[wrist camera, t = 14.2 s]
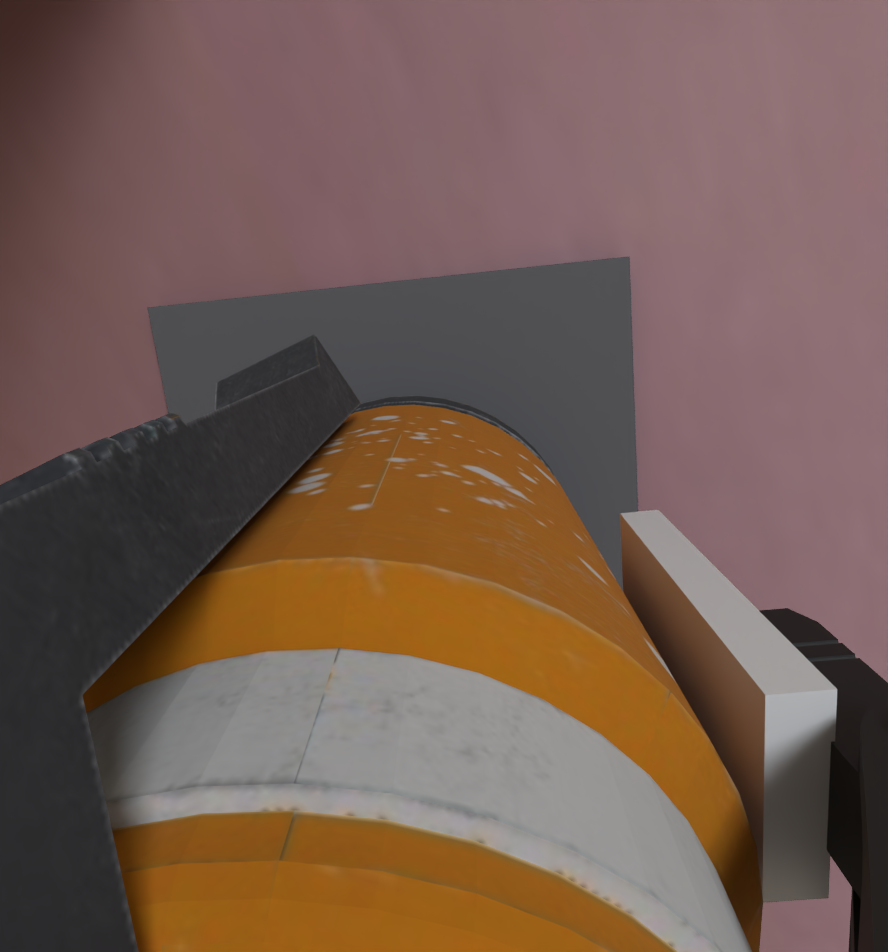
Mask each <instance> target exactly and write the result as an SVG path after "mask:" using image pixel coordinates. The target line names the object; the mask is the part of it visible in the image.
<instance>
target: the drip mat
mask: <svg viewBox="0 0 888 952" xmlns="http://www.w3.org/2000/svg"><path fill="white" fill-rule="evenodd" d="M148 313H149V318H150V323H151V328H152V333H153V338H154V343H155V348H156V353H157V358H158V363H159V368H160V373H161V378H162V383H163V388H164V393H165V398H166V403H167V408H168V413H169V414H170V413H174V414H177V415H180V416H181V417H182V419H183V421H184V423H188V422H190V421H192V420H194V419H197V418H199V417H201V416H204V415H206V414H208V413H210V412H213V411H215V393H216V383H217V382H219V381H221V380H223V379H225V378H227V377H229V376H231V375H233V374H235V373H237V372H239V371H241V370H243V369H245V368H247V367H249V366H251V365H253V364H255V363H257V362H259V361H261V360H263V359H265V358H267V357H269V356H271V355H273V354H275V353H277V352H279V351H281V350H283V349H285V348H287V347H289V346H291V345H293V344H295V343H297V342H299V341H301V340H303V339H305V338H307V337H309V336H311V335H313V334H315V335H316V337H317V338H318V340H319V341H320V343H321V344H322V346H323V347H324V349H325V350H326V352H327V353H328V355H329V356H330V358H331V359H332V361H333V362H334V364H335V365H336V367H337V368H338V370H339V371H340V373H341V374H342V376H343V377H344V379H345V380H346V382H347V383H348V385H349V386H350V388H351V389H352V391H353V392H354V394H355V395H356V397H357V398H358V400H359V401H360V403H361V404H362V403H365V402H369V401H374V400H378V399H383V398H388V397H398V396H427V397H436V398H444V399H448V400H452V401H456V402H459V403H463V404H467V405H470V406H472V407H475V408H477V409H479V410H481V411H483V412H486V413H488V414H490V415H492V416H494V417H496V418H497V419H499V420H500V421H502V422H503V423H505V424H507V425H508V426H510V427H511V428H513V429H514V430H516V431H517V432H518V433H519V434H520V435H521V436H522V437H523V438H524V439H525V440H527V441H528V442H529V443H530V444H531V445H532V446H533V447H534V448H535V449H536V450H537V452H538V453H539V454H540V455H541V457H542V458H543V459H544V460H545V462H546V463H547V464H548V465H549V467H550V468H551V470H552V472H553V473H554V475H555V477H556V478H557V480H558V482H559V483H560V485H561V487H562V489H563V490H564V492H565V494H566V495H567V497H568V499H569V500H570V502H571V504H572V506H573V507H574V509H575V511H576V512H577V514H578V516H579V517H580V519H581V521H582V523H583V524H584V526H585V528H586V529H587V531H588V533H589V535H590V536H591V538H592V540H593V541H594V543H595V545H596V546H597V548H598V550H599V552H600V553H601V555H602V557H603V558H604V560H605V562H606V563H607V565H608V567H609V569H610V570H611V572H612V574H613V575H614V577H615V579H616V581H617V582H618V584H619V586H620V587H621V589H622V591H623V574H622V550H621V525H620V513H629V512H638V493H637V463H636V434H635V405H634V375H633V346H632V316H631V287H630V258H629V257H621V258H612V259H602V260H593V261H583V262H574V263H564V264H555V265H546V266H536V267H527V268H517V269H508V270H498V271H489V272H479V273H470V274H461V275H451V276H442V277H432V278H423V279H413V280H404V281H394V282H385V283H376V284H366V285H357V286H347V287H338V288H328V289H319V290H309V291H300V292H291V293H281V294H272V295H262V296H253V297H243V298H234V299H225V300H215V301H206V302H196V303H187V304H177V305H168V306H158V307H149V308H148Z"/></svg>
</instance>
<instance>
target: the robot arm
mask: <svg viewBox="0 0 888 952" xmlns="http://www.w3.org/2000/svg"><path fill="white" fill-rule="evenodd" d="M620 525H621V550H622V574H623V592H624V594H625V596H626V598H627V599H628V601H629V603H630V604H631V606H632V608H633V609H634V611H635V613H636V615H637V616H638V618H639V620H640V621H641V623H642V625H643V626H644V628H645V630H646V632H647V633H648V635H649V637H650V638H651V640H652V642H653V644H654V645H655V647H656V649H657V650H658V652H659V654H660V655H661V657H662V659H663V661H664V662H665V664H666V666H667V667H668V669H669V671H670V672H671V674H672V676H673V678H674V679H675V681H676V683H677V684H678V686H679V688H680V690H681V691H682V693H683V695H684V696H685V698H686V700H687V701H688V703H689V705H690V707H691V708H692V710H693V712H694V713H695V715H696V717H697V718H698V720H699V722H700V724H701V725H702V727H703V729H704V730H705V732H706V734H707V736H708V737H709V739H710V741H711V742H712V744H713V746H714V748H715V750H716V752H717V753H718V755H719V757H720V759H721V761H722V762H723V764H724V766H725V768H726V770H727V772H728V773H729V775H730V777H731V779H732V781H733V783H734V784H735V786H736V788H737V790H738V792H739V794H740V797H741V800H742V803H743V806H744V809H745V812H746V815H747V819H748V822H749V825H750V828H751V831H752V834H753V837H754V840H755V843H756V846H757V854H758V863H759V871H760V879H761V888H762V896H763V903H764V902H778V901H792V900H807V899H821V898H828V894H829V871H830V856H831V857H832V858H833V860H834V861H835V863H836V864H837V866H838V867H839V869H840V870H841V872H842V873H843V874H844V876H845V877H846V879H847V880H848V882H849V883H850V885H851V886H852V900H851V918H850V937H849V952H888V683H887V682H886V681H885V680H884V679H883V678H881V677H880V676H879V675H878V674H877V673H876V672H875V671H873V670H872V669H871V668H870V667H869V666H868V665H867V664H865V663H864V662H863V661H862V660H861V659H860V658H855V654H854V653H853V652H852V651H850V650H849V649H848V648H847V647H846V646H845V645H844V644H842V643H838V639H837V638H835V637H834V636H833V635H832V634H831V633H830V632H829V631H827V630H826V629H825V628H824V627H823V626H822V625H821V624H819V623H818V622H816V621H814V620H812V619H810V618H808V617H805V616H803V615H801V614H799V613H796V612H794V611H792V610H790V609H788V608H785V609H774V610H762V611H759V610H758V609H757V608H756V607H755V606H754V605H753V604H752V603H751V602H750V601H749V600H748V599H747V598H746V597H745V596H744V595H743V594H742V593H741V592H740V591H739V590H738V589H737V588H736V587H735V586H734V585H733V584H732V583H731V582H730V581H729V580H728V579H727V578H726V577H725V576H724V575H723V574H722V573H721V572H720V571H719V570H718V569H717V568H716V567H715V566H714V565H713V564H712V563H711V562H710V561H709V560H708V559H707V558H706V557H705V556H704V555H703V554H702V553H701V552H700V551H699V550H698V549H697V548H696V547H695V546H694V545H693V544H692V543H691V542H690V541H689V540H688V539H687V538H686V537H685V536H684V535H683V534H682V533H681V532H680V531H679V530H678V529H677V528H676V527H675V526H674V525H673V524H672V523H671V522H670V521H669V520H668V519H667V518H666V517H665V516H664V515H663V514H662V513H661V512H660V511H659V510H651V511H640V512H629V513H620Z"/></svg>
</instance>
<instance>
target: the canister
mask: <svg viewBox="0 0 888 952" xmlns="http://www.w3.org/2000/svg"><path fill="white" fill-rule="evenodd" d="M762 907H763V896H762V888H761V879H760V871H759V863H758V854H757V846H756V843H755V840H754V837H753V834H752V831H751V828H750V825H749V822H748V819H747V815H746V812H745V809H744V806H743V803H742V800H741V797H740V794H739V792H738V790H737V788H736V786H735V784H734V783H733V781H732V779H731V777H730V775H729V773H728V772H727V770H726V768H725V766H724V764H723V762H722V761H721V759H720V757H719V755H718V753H717V752H716V750H715V748H714V746H713V744H712V742H711V741H710V739H709V737H708V736H707V734H706V732H705V730H704V729H703V727H702V725H701V724H700V722H699V720H698V718H697V717H696V715H695V713H694V712H693V710H692V708H691V707H690V705H689V703H688V701H687V700H686V698H685V696H684V695H683V693H682V691H681V690H680V688H679V686H678V684H677V683H676V681H675V679H674V678H673V676H672V674H671V672H670V671H669V669H668V667H667V666H666V664H665V662H664V661H663V659H662V657H661V655H660V654H659V652H658V650H657V649H656V647H655V645H654V644H653V642H652V640H651V638H650V637H649V635H648V633H647V632H646V630H645V628H644V626H643V625H642V623H641V621H640V620H639V618H638V616H637V615H636V613H635V611H634V609H633V608H632V606H631V604H630V603H629V601H628V599H627V598H626V596H625V594H624V592H623V591H622V589H621V587H620V586H619V584H618V582H617V581H616V579H615V577H614V575H613V574H612V572H611V570H610V569H609V567H608V565H607V563H606V562H605V560H604V558H603V557H602V555H601V553H600V552H599V550H598V548H597V546H596V545H595V543H594V541H593V540H592V538H591V536H590V535H589V533H588V531H587V529H586V528H585V526H584V524H583V523H582V521H581V519H580V517H579V516H578V514H577V512H576V511H575V509H574V507H573V506H572V504H571V502H570V500H569V499H568V497H567V495H566V494H565V492H564V490H563V489H562V487H561V485H560V483H559V482H558V480H557V478H556V477H555V475H554V473H553V472H552V470H551V468H550V467H549V465H548V464H547V463H546V462H545V460H544V459H543V458H542V457H541V455H540V454H539V453H538V452H537V450H536V449H535V448H534V447H533V446H532V445H531V444H530V443H529V442H528V441H527V440H525V439H524V438H523V437H522V436H521V435H520V434H519V433H518V432H517V431H516V430H514V429H513V428H511V427H510V426H508V425H507V424H505V423H503V422H502V421H500V420H499V419H497V418H496V417H494V416H492V415H490V414H488V413H486V412H483V411H481V410H479V409H477V408H475V407H472V406H470V405H467V404H463V403H459V402H456V401H452V400H448V399H444V398H436V397H427V396H398V397H388V398H383V399H378V400H374V401H369V402H365V403H362V404H361V403H360V401H359V400H358V398H357V397H356V395H355V394H354V392H353V391H352V389H351V388H350V386H349V385H348V383H347V382H346V380H345V379H344V377H343V376H342V374H341V373H340V371H339V370H338V368H337V367H336V365H335V364H334V362H333V361H332V359H331V358H330V356H329V355H328V353H327V352H326V350H325V349H324V347H323V346H322V344H321V343H320V341H319V340H318V338H317V337H316V335H315V334H313V335H311V336H309V337H307V338H305V339H303V340H301V341H299V342H297V343H295V344H293V345H291V346H289V347H287V348H285V349H283V350H281V351H279V352H277V353H275V354H273V355H271V356H269V357H267V358H265V359H263V360H261V361H259V362H257V363H255V364H253V365H251V366H249V367H247V368H245V369H243V370H241V371H239V372H237V373H235V374H233V375H231V376H229V377H227V378H225V379H223V380H221V381H219V382H217V383H216V393H215V411H213V412H210V413H208V414H206V415H204V416H201V417H199V418H197V419H194V420H192V421H190V422H188V423H184V421H183V419H182V417H181V416H180V415H177V414H174V413H170V414H167V415H165V416H162V417H160V418H158V419H156V420H151V421H149V422H146V423H143V424H141V425H139V426H137V427H135V428H130V429H128V430H125V431H122V432H120V433H118V434H116V435H114V436H112V437H110V438H108V437H107V438H104V439H101V440H99V441H96V442H94V443H92V444H90V445H88V446H86V447H84V448H81V449H80V448H78V449H75V450H72V451H70V452H67V453H64V454H62V455H60V456H58V457H56V458H54V459H52V460H50V461H48V462H46V463H44V464H42V465H40V466H38V467H36V468H34V469H32V470H30V471H28V472H26V473H24V474H22V475H20V476H18V477H16V478H14V479H12V480H10V481H8V482H6V483H4V484H2V485H0V952H759V946H760V933H761V920H762Z"/></svg>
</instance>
